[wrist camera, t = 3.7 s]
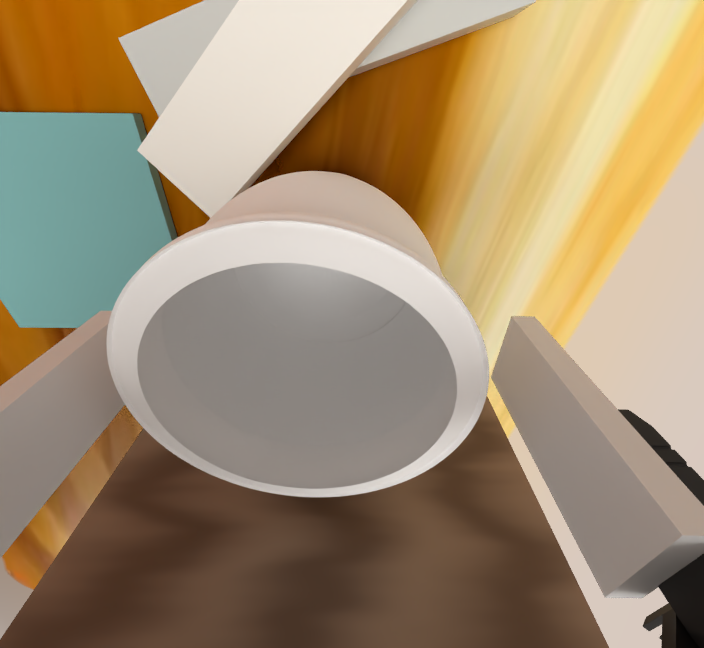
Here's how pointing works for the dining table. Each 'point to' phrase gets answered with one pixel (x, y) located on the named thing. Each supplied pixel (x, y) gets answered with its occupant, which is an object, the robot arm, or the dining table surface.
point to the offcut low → (404, 39)
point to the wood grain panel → (312, 563)
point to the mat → (75, 213)
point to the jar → (300, 343)
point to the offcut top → (260, 89)
